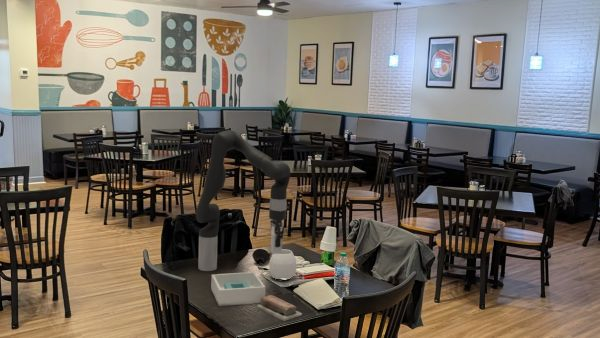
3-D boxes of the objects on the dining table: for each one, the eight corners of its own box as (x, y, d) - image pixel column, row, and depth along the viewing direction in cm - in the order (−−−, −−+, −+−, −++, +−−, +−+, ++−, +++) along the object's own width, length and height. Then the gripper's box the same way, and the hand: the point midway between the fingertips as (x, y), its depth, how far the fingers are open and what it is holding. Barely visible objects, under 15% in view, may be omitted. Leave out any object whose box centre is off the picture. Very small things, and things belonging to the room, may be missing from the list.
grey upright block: (270, 251, 248) (271, 225, 247) (278, 250, 250) (280, 225, 248) (272, 253, 245) (274, 227, 243) (281, 253, 246) (282, 227, 244)
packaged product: (256, 297, 232) (274, 292, 239) (255, 308, 233) (273, 302, 239) (284, 311, 219) (302, 305, 226) (284, 322, 220) (302, 316, 227)
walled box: (211, 289, 250) (211, 274, 249) (253, 286, 257) (254, 271, 256) (219, 306, 232) (219, 290, 231) (264, 302, 238) (265, 287, 237)
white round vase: (264, 279, 266) (265, 253, 264) (275, 272, 278) (276, 246, 276) (289, 284, 261) (290, 257, 259) (299, 276, 273) (301, 250, 272)
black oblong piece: (248, 257, 284) (252, 238, 300) (256, 274, 289) (259, 253, 305) (265, 253, 282) (267, 233, 298) (273, 269, 287) (275, 249, 303)
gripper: (265, 204, 249) (264, 241, 252) (274, 212, 236) (272, 250, 239) (281, 204, 252) (279, 240, 254) (290, 211, 239) (288, 249, 241)
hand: (276, 245), depth 247 cm, fingers closed on grey upright block, 4 cm apart
